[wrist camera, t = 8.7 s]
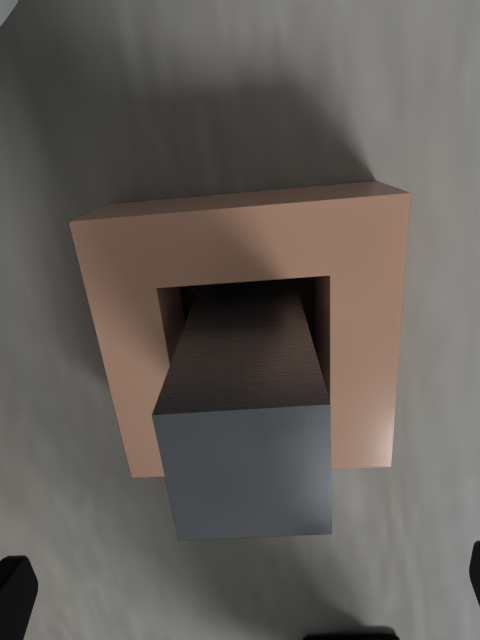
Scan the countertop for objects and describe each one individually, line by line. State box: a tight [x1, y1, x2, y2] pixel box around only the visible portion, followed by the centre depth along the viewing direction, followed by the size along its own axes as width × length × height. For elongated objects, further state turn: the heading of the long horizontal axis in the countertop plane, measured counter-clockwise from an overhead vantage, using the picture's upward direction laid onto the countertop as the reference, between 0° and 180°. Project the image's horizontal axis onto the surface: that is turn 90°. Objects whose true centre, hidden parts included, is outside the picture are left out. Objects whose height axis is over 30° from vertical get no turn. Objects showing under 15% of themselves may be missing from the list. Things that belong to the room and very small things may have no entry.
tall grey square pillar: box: [152, 278, 332, 540], centre depth 15 cm, size 4×4×10 cm
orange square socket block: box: [69, 181, 411, 478], centre depth 17 cm, size 11×11×4 cm
